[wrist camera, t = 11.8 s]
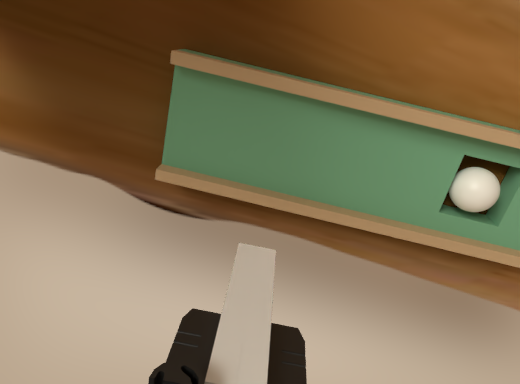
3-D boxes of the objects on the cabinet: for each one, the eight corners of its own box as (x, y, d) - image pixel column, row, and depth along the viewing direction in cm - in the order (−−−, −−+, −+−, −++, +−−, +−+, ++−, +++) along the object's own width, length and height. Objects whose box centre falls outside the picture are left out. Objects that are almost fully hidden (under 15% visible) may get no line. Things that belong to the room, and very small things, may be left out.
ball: (505, 190, 35) (458, 180, 38) (508, 162, 33) (457, 153, 35) (490, 226, 34) (443, 213, 37) (492, 201, 31) (440, 188, 34)
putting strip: (185, 48, 34) (171, 50, 30) (562, 141, 34) (595, 153, 31) (168, 165, 38) (154, 179, 35) (505, 247, 38) (527, 269, 35)
